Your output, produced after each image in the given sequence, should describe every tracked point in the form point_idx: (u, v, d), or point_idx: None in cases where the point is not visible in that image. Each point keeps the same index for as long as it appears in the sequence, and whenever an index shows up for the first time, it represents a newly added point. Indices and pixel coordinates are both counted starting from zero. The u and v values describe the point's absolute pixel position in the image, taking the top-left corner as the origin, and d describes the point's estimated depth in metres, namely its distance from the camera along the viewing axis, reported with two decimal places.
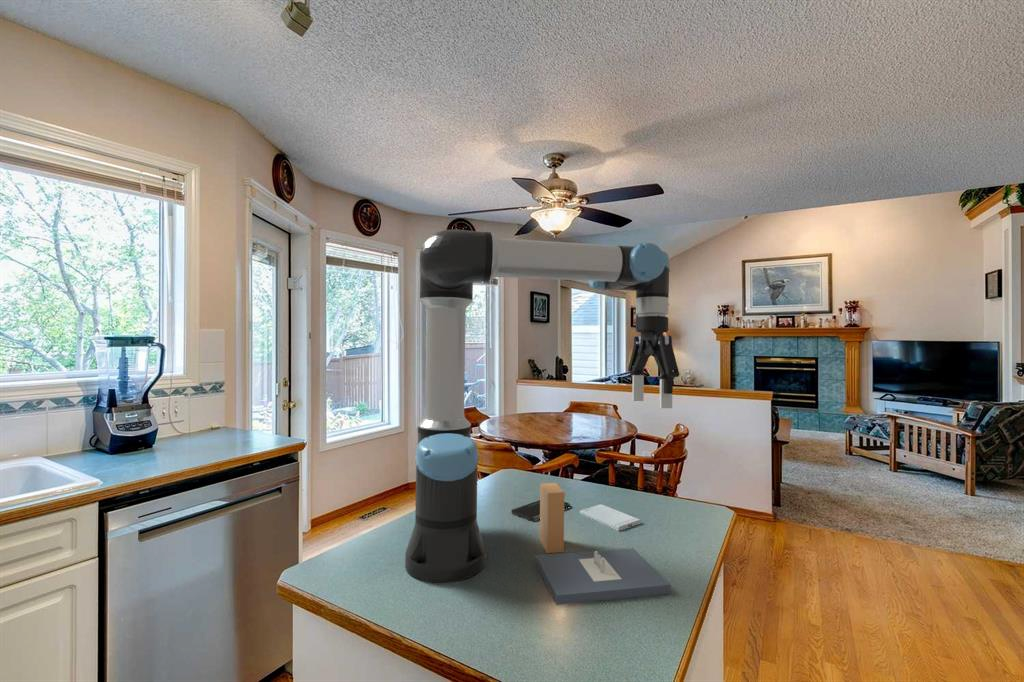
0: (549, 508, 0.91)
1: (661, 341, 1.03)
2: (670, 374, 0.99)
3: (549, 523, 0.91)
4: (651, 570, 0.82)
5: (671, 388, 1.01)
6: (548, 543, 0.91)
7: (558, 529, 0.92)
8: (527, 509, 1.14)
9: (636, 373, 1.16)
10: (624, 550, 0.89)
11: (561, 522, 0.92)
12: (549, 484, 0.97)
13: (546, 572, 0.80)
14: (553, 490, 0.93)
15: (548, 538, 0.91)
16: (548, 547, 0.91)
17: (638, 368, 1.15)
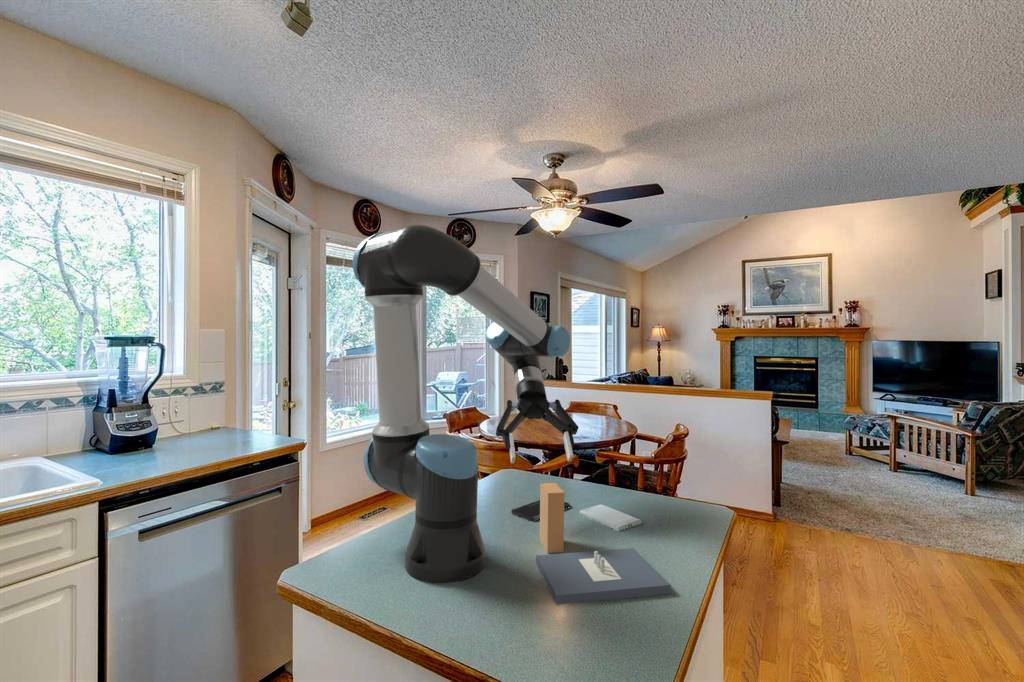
0: (549, 508, 0.91)
1: (559, 403, 1.16)
2: None
3: (549, 523, 0.91)
4: (651, 570, 0.82)
5: None
6: (548, 543, 0.91)
7: (558, 529, 0.92)
8: (527, 509, 1.14)
9: None
10: (624, 550, 0.89)
11: (561, 522, 0.92)
12: (549, 484, 0.97)
13: (546, 572, 0.80)
14: (553, 490, 0.93)
15: (548, 538, 0.91)
16: (548, 547, 0.91)
17: (513, 428, 1.10)
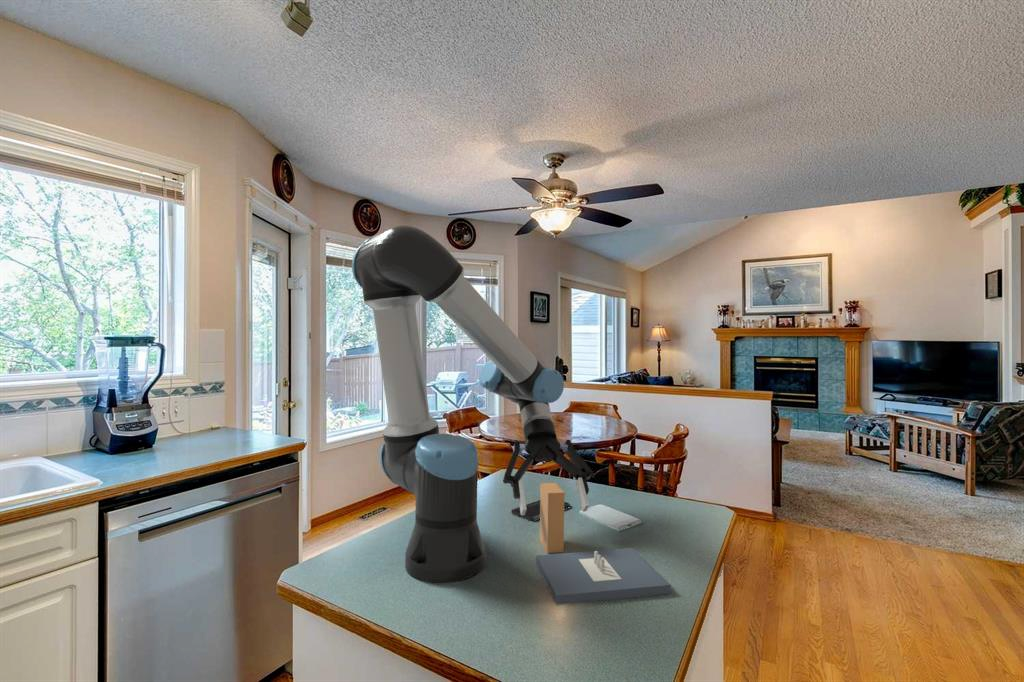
0: (549, 508, 0.91)
1: (570, 444, 1.06)
2: None
3: (549, 523, 0.91)
4: (651, 570, 0.82)
5: None
6: (548, 543, 0.91)
7: (558, 529, 0.92)
8: (527, 509, 1.14)
9: None
10: (624, 550, 0.89)
11: (561, 522, 0.92)
12: (549, 484, 0.97)
13: (546, 572, 0.80)
14: (553, 490, 0.93)
15: (548, 538, 0.91)
16: (548, 547, 0.91)
17: (522, 475, 1.00)
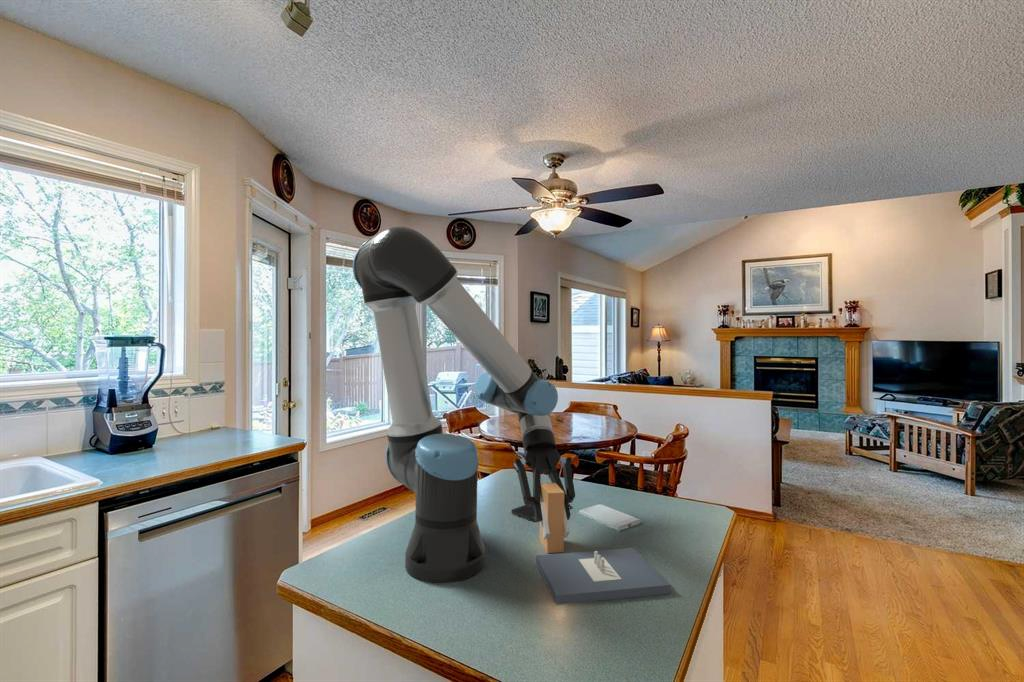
0: (549, 508, 0.91)
1: (569, 462, 1.02)
2: None
3: (549, 523, 0.91)
4: (651, 570, 0.82)
5: None
6: (548, 543, 0.91)
7: (558, 529, 0.92)
8: (527, 509, 1.14)
9: None
10: (624, 550, 0.89)
11: (561, 522, 0.92)
12: (549, 484, 0.97)
13: (546, 572, 0.80)
14: (553, 490, 0.93)
15: (548, 538, 0.91)
16: (548, 547, 0.91)
17: None
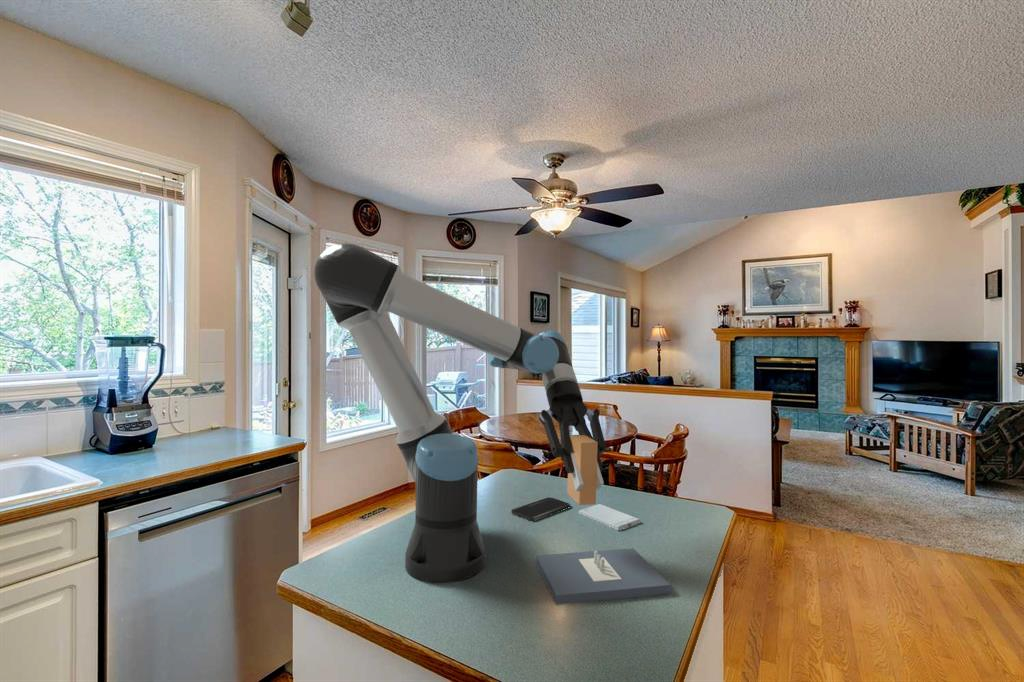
0: (582, 458, 0.87)
1: (597, 414, 0.97)
2: None
3: (581, 474, 0.87)
4: (651, 570, 0.82)
5: None
6: (580, 495, 0.87)
7: (590, 480, 0.87)
8: (527, 509, 1.14)
9: None
10: (624, 550, 0.89)
11: (593, 473, 0.87)
12: (578, 435, 0.92)
13: (546, 572, 0.80)
14: (585, 440, 0.88)
15: (580, 490, 0.87)
16: (580, 499, 0.87)
17: None
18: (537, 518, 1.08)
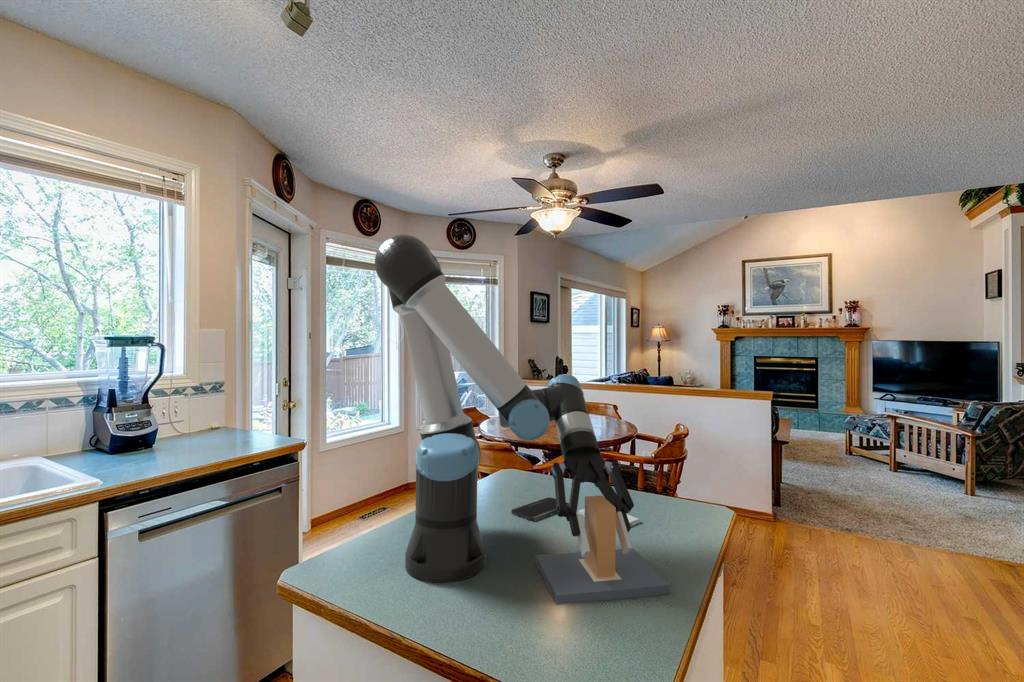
0: (599, 526, 0.79)
1: (617, 466, 0.90)
2: None
3: (598, 543, 0.79)
4: (651, 570, 0.82)
5: None
6: (597, 567, 0.78)
7: (608, 550, 0.79)
8: (527, 509, 1.14)
9: None
10: None
11: (612, 542, 0.79)
12: (595, 497, 0.84)
13: (546, 572, 0.80)
14: (602, 504, 0.81)
15: (597, 561, 0.78)
16: (597, 571, 0.78)
17: None
18: (537, 518, 1.08)
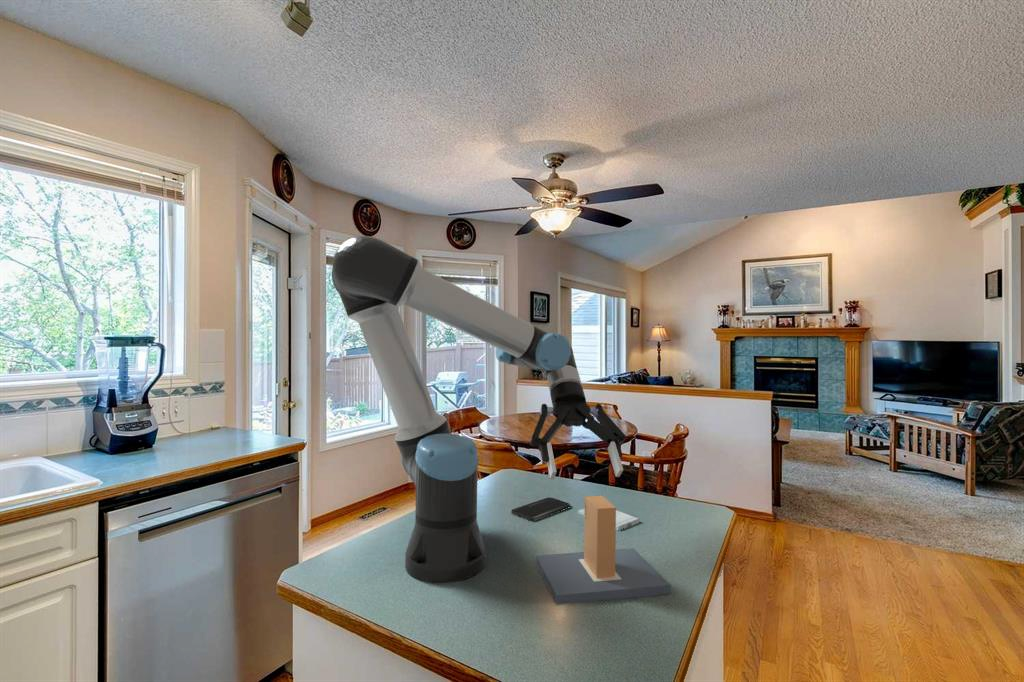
0: (599, 526, 0.79)
1: (601, 408, 1.00)
2: None
3: (598, 543, 0.79)
4: (651, 570, 0.82)
5: None
6: (597, 567, 0.78)
7: (608, 550, 0.79)
8: (527, 509, 1.14)
9: None
10: (624, 550, 0.89)
11: (612, 542, 0.79)
12: (595, 497, 0.84)
13: (546, 572, 0.80)
14: (602, 504, 0.81)
15: (597, 561, 0.78)
16: (597, 571, 0.78)
17: (550, 437, 0.93)
18: (537, 518, 1.08)
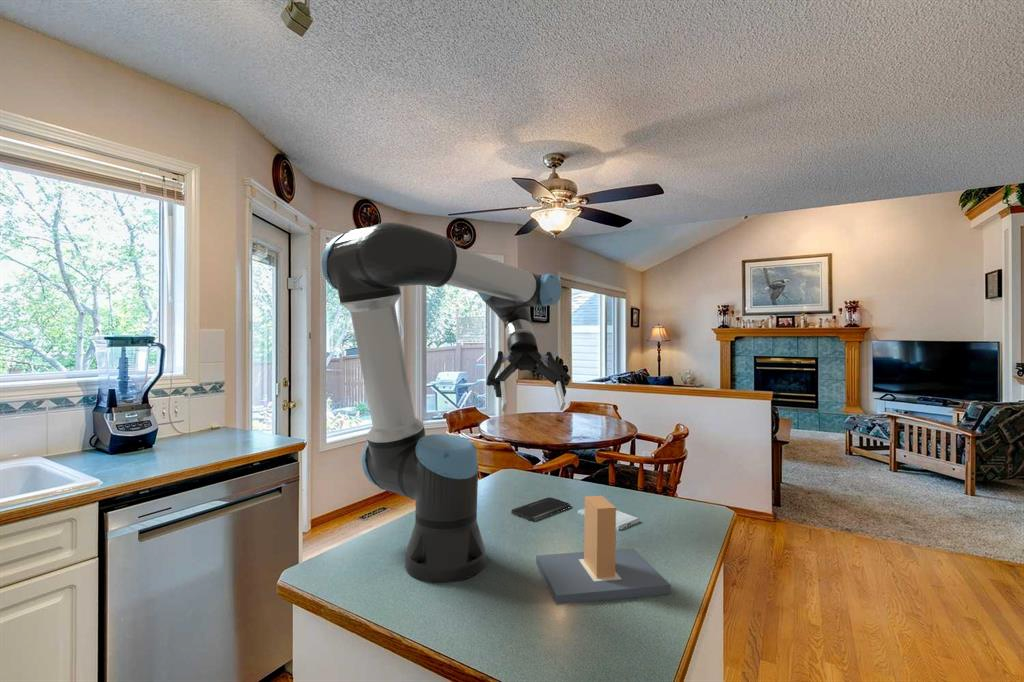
0: (599, 526, 0.79)
1: (550, 355, 1.14)
2: None
3: (598, 543, 0.79)
4: (651, 570, 0.82)
5: None
6: (597, 567, 0.78)
7: (608, 550, 0.79)
8: (527, 509, 1.14)
9: None
10: (624, 550, 0.89)
11: (612, 542, 0.79)
12: (595, 497, 0.84)
13: (546, 572, 0.80)
14: (602, 504, 0.81)
15: (597, 561, 0.78)
16: (597, 571, 0.78)
17: (504, 378, 1.07)
18: (537, 518, 1.08)
